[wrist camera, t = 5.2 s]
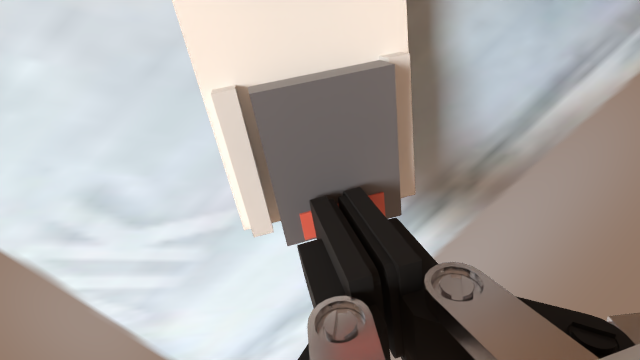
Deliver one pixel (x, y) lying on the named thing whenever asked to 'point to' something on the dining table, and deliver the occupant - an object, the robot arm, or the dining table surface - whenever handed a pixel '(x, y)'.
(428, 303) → the robot arm
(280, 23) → the rocker switch panel
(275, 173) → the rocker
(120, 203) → the dining table surface
